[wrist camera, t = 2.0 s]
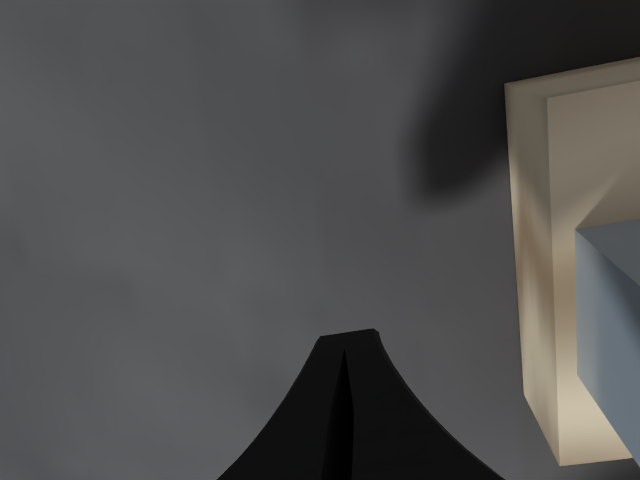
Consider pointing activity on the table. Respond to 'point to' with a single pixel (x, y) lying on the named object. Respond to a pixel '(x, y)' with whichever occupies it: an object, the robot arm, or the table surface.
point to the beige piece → (568, 231)
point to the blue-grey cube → (610, 323)
